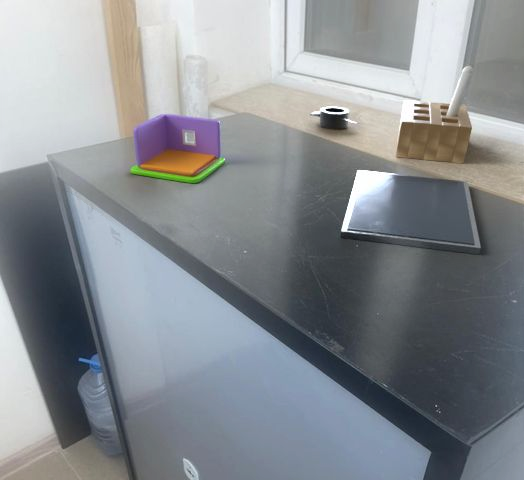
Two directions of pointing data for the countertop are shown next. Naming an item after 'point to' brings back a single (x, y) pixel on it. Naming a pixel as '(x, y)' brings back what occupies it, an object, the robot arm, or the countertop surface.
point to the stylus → (460, 91)
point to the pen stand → (433, 132)
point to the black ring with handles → (333, 117)
